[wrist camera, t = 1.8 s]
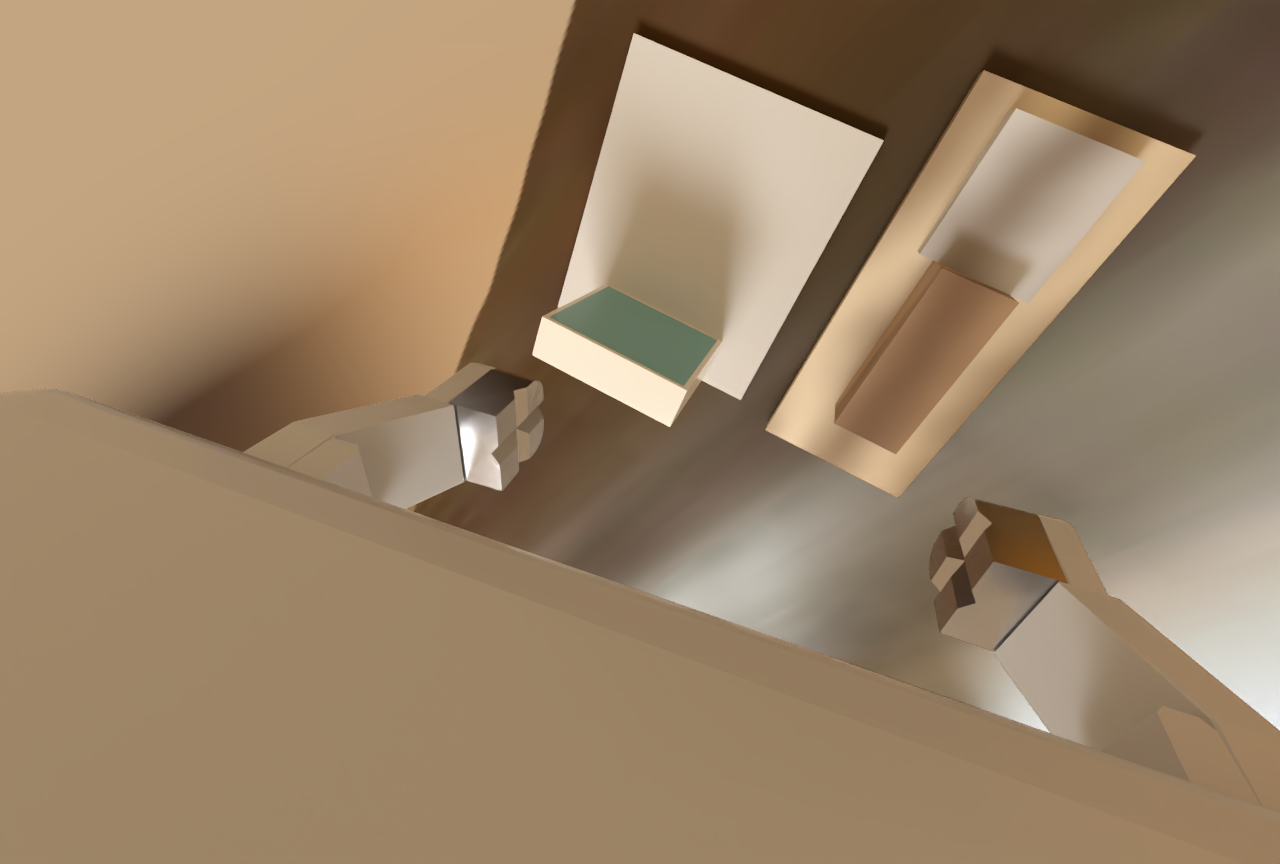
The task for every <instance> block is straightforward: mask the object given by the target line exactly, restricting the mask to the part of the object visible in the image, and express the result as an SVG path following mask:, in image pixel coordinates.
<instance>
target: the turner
mask: <svg viewBox="0 0 1280 864" xmlns="http://www.w3.org/2000/svg"><path fill="white" fill-rule="evenodd" d="M1144 163H1145V161H1144V160H1142V159H1139V158H1137V157H1134V156H1132V155H1129V154H1127V153H1124V152H1122V151H1120V150H1117V149H1115V148H1112V147H1110V146H1107V145H1105V144H1102V143H1100V142H1098V141H1095V140H1093V139H1090V138H1088V137H1085V136H1083V135H1080V134H1078V133H1076V132H1073V131H1071V130H1068V129H1066V128H1063V127H1061V126H1058V125H1056V124H1054V123H1051V122H1049V121H1046V120H1044V119H1041V118H1039V117H1037V116H1034V115H1032V114H1029V113H1027V112H1024V111H1022V110H1019V109H1017V108H1015V109H1012V110H1009V112H1008V113H1007V115H1006V116H1005V118H1004V119H1003V121H1002V122H1001V124H1000V126H999V127H998V129H997V130H996V132H995V133H994V135H993V136H992V138H991V139H990V141H989V142H988V144H987V145H986V147H985V148H984V150H983V151H982V153H981V154H980V156H979V158H978V159H977V161H976V162H975V164H974V165H973V167H972V168H971V170H970V171H969V173H968V174H967V176H966V177H965V179H964V180H963V182H962V183H961V185H960V187H959V188H958V190H957V191H956V193H955V194H954V196H953V197H952V199H951V200H950V202H949V203H948V205H947V206H946V208H945V209H944V211H943V212H942V214H941V215H940V217H939V219H938V220H937V222H936V223H935V225H934V226H933V228H932V229H931V231H930V232H929V234H928V235H927V237H926V238H925V240H924V241H923V243H922V244H921V246H920V247H919V249H918V253H919V254H920V255H922V256H925V257H927V258H929V259H931V260H933V261H932V263H931V264H930V266H929V267H928V269H927V270H926V272H925V273H924V275H923V276H922V278H921V279H920V280H919V282H918V283H917V285H916V286H915V288H914V289H913V291H912V292H911V294H910V295H909V297H908V298H907V300H906V301H905V302H904V304H903V305H902V307H901V308H900V310H899V311H898V313H897V314H896V316H895V317H894V319H893V320H892V322H891V323H890V325H889V326H888V327H887V329H886V330H885V332H884V333H883V335H882V336H881V338H880V339H879V341H878V342H877V344H876V345H875V347H874V348H873V350H872V351H871V352H870V354H869V355H868V357H867V358H866V360H865V361H864V363H863V364H862V366H861V367H860V369H859V370H858V372H857V373H856V374H855V376H854V377H853V379H852V380H851V382H850V383H849V385H848V386H847V388H846V389H845V391H844V392H843V394H842V395H841V397H840V398H839V399H838V401H837V402H836V404H835V420H834V424H836V425H838V426H840V427H842V428H844V429H846V430H848V431H850V432H852V433H854V434H856V435H858V436H860V437H862V438H864V439H866V440H868V441H870V442H872V443H874V444H876V445H878V446H880V447H882V448H884V449H886V450H888V451H890V452H892V453H894V454H897V452H898V451H899V450H900V449H901V448H902V446H903V445H904V444H905V443H906V441H907V440H908V439H909V438H910V437H911V435H912V434H913V433H914V432H915V430H916V429H917V428H918V427H919V425H920V424H921V423H922V422H923V421H924V419H925V418H926V417H927V416H928V414H929V413H930V412H931V411H932V410H933V408H934V407H935V406H936V405H937V403H938V402H939V401H940V400H941V398H942V397H943V396H944V395H945V394H946V392H947V391H948V390H949V389H950V387H951V386H952V385H953V384H954V383H955V381H956V380H957V379H958V378H959V376H960V375H961V374H962V373H963V371H964V370H965V369H966V368H967V367H968V365H969V364H970V363H971V362H972V360H973V359H974V358H975V357H976V356H977V354H978V353H979V352H980V351H981V349H982V348H983V347H984V346H985V344H986V343H987V342H988V341H989V340H990V338H991V337H992V336H993V335H994V333H995V332H996V331H997V330H998V329H999V327H1000V326H1001V325H1002V324H1003V322H1004V321H1005V320H1006V319H1007V317H1008V316H1009V315H1010V314H1011V313H1012V311H1013V310H1014V309H1015V308H1016V306H1017V305H1018V304H1019V302H1017V301H1016V300H1015V299H1014V298H1013V297H1015V298H1017V299H1020V300H1022V301H1024V302H1026V303H1029V302H1030V301H1031V299H1032V298H1033V297H1034V296H1035V295H1036V293H1037V292H1038V291H1039V290H1040V289H1041V287H1042V286H1043V285H1044V284H1045V283H1046V281H1047V280H1048V279H1049V278H1050V276H1051V275H1052V274H1053V273H1054V272H1055V270H1056V269H1057V268H1058V267H1059V266H1060V264H1061V263H1062V262H1063V261H1064V260H1065V258H1066V257H1067V256H1068V255H1069V253H1070V252H1071V251H1072V250H1073V249H1074V247H1075V246H1076V245H1077V244H1078V243H1079V241H1080V240H1081V239H1082V238H1083V237H1084V235H1085V234H1086V233H1087V232H1088V230H1089V229H1090V228H1091V227H1092V226H1093V224H1094V223H1095V222H1096V221H1097V220H1098V218H1099V217H1100V216H1101V215H1102V213H1103V212H1104V211H1105V210H1106V209H1107V207H1108V206H1109V205H1110V204H1111V203H1112V201H1113V200H1114V199H1115V198H1116V197H1117V195H1118V194H1119V193H1120V192H1121V190H1122V189H1123V188H1124V187H1125V186H1126V184H1127V183H1128V182H1129V181H1130V180H1131V178H1132V177H1133V176H1134V175H1135V174H1136V172H1137V171H1138V170H1139V169H1140V167H1141V166H1142V165H1143V164H1144ZM1010 295H1011V296H1013V297H1011V296H1010Z"/></svg>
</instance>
